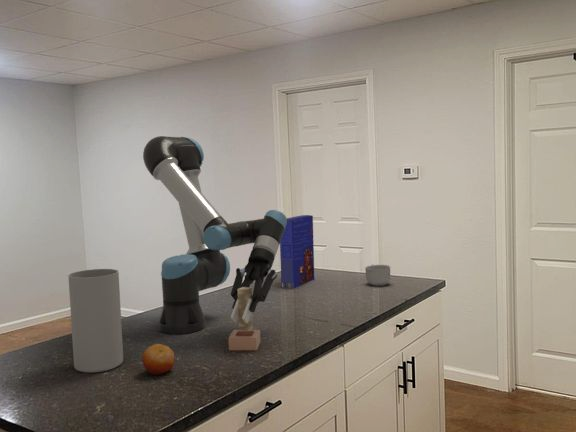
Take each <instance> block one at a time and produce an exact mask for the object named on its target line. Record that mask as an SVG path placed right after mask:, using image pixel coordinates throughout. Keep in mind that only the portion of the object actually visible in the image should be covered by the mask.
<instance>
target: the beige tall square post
mask: <svg viewBox="0 0 576 432" xmlns="http://www.w3.org/2000/svg"><path fill="white" fill-rule="evenodd" d="M252 289H253V288H252V287H242V288H239V289H237V292H238V312H239V317H238V330H243V331H249V330H254V315H253V314H254V312H252V313H251V316H250V319H249V321H248V323H245V322H244V321H243V319H242V317H243V314H244V311H245V308H246V306H247V303H248V300H249V299H252V297H251V296H252V295H253V291H252Z"/></svg>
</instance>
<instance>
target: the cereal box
mask: <svg viewBox="0 0 576 432" xmlns="http://www.w3.org/2000/svg"><path fill="white" fill-rule="evenodd" d="M286 218H287V223H286V227H285V231H284V233H283V236H282V238H281V241H280V244H279V251H280V252H279V259H280V286H281V287H280V288H281V289H291V290H292V289H293V290H294V289H296V288H298V287H301V286H302V285H305V284H307V283H309V282H311V281H314V280H315V257H314V256H315V253H314V251H315V248H314V247H315V246H314V216H313V215H310V214H301V215H297V216H291V217H286Z"/></svg>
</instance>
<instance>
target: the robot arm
mask: <svg viewBox="0 0 576 432" xmlns="http://www.w3.org/2000/svg"><path fill="white" fill-rule="evenodd" d="M142 154H143V155H142V158H143V162H144V165H145V168H146V170H147V171H148V172H149V174H150V175H151V176H152V177H153V178H154V180H155V181H156V180H157V181H160V182H161V183H162V185H164V187H165V188H166V189H167V190H168V191H169V193H170V194H171V195H172V197H173V198H175V200H176V201H177V203H178V206H179V210H180V215H181V218H182V222H183V223H182V224H183V227H184V232H185V235H186V239H187V244H188V250H187V251H186V253H185V254H179V255H173V256H171V257H168V258H166V259H165V260H163V262H162V263H161V272H160V276H161V289H162V306H163V307H162V310H161V313H160V317H159V321H158V330H159V331H160V332H161V333H163V334H164V333H165V334H172V335H173V334H174V335H176V334H177V335H178V334H179V335H181V334H188V333H189V334H190V333H194V332H198V331H201V330H202V329H204V328H205V327H206V317H205V315H204V312H203V310H202V307H201V304H200V292H202V291H204V290H205V291H206V290H208V289H212V288H216V287H218V286H220V285H222V284H223V283H225V282H226V281H227V280H228V277H229V275H230V272H231V264H230V263H231V262H230V261H229V260H230V259H229V258H228V257H227V256H226V255H225V253H222V252H221V251H224V250H226V249H230V248H233V247H234V248H235V247H240V246H244V245H249V244H253V246H252V250H251V251H250V254H249V257H248V261H247V263H246V265H245V266H244V268H239V267H238V268H235V269H236V270H235V279H234V281H233V286H232V288H231V292H230V296H231V297H232V299H233V300H234V301H233V304H232V305H231V306H232V307H231V308H232V313H231V315H230V319H231V320H232V321H233V323H237V321H239V312H238V292H237V289H239V288H242V287H249V288H251V287H250V286H251V285H252V284H253V283H254V286H253V291H252V296H251V297H252V299H249V300H248V303H247V306H246V308H245V311H244V314H243V317H242V319H243V321H244V322H245V323H248V321H249V319H250V316H251V313H252V312H253V313H255V311H256V308H257V306H258V303H260V302H265V301H266V299H267V296H268V294H269V292H270V289H271V288H272V285H273V283H274V281H275V279H277V277H278V274H277V272H276V270H275V269H272V267H273V264H274V262H275V258H276V257H277V256H276V255H277V252H278V249H279V248H280V241H281V238H282V236H283V233H284V231H285V227H286V223H287V218H288V217H287V216H286V215H285V214H284V212H281V211H279V210H276V209H269V210H268V211H267V212H266V213H265V215H264V217H263V218H257V219H252V220H244V221H243V220H242V221H236V222H232V223H231V222H229V223H228V222H227V220H226V219H224V217H223V216H222V215H221V214H220V212H218V210H217V209H216V208H215V207H214V206H213V205H212V204H211V202H210V201H209V200H208V199H207V197H206V196H205V195H204V194H203V193H202V189H201V185H200V181H199V176H200V174H201V172H202V170H201V167H202V165H203V161H205V160H204V157H205V155H204V151H203V148H202V146H201V144H200V143H199V142H198V141H197V140H195V139H193V138H191V137H186V136H180V137H179V136H162V135H160V136H156V137H153V138H151V139H150V140H149V141H148V142H147V143H146V145H145V146H144V148H143V153H142ZM243 279H244V280H243Z"/></svg>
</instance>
